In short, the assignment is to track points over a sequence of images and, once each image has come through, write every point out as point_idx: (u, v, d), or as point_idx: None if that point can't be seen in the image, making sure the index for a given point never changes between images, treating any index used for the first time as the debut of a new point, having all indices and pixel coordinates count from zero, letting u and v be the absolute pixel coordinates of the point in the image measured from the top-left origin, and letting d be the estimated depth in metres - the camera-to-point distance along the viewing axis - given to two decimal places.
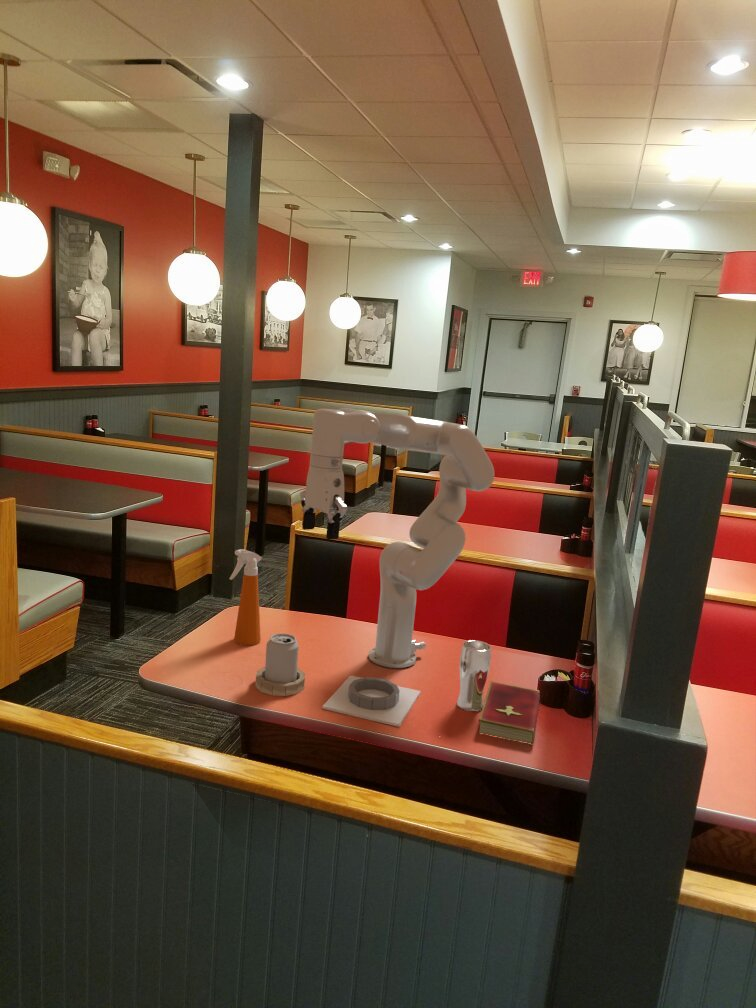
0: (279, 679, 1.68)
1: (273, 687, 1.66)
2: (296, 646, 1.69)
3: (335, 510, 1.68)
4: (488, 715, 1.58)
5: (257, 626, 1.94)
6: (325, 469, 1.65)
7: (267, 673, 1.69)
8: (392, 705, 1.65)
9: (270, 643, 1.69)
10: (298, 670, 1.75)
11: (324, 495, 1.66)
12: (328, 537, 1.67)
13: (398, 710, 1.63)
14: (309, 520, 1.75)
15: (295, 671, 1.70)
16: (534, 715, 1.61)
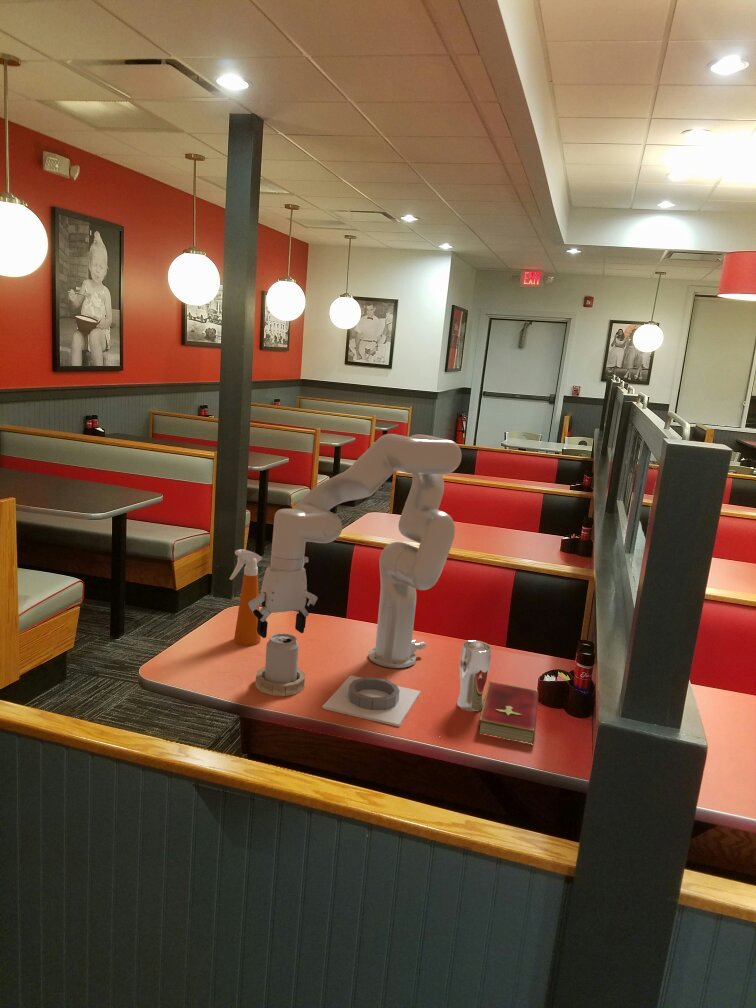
0: (279, 679, 1.68)
1: (273, 687, 1.66)
2: (296, 646, 1.69)
3: None
4: (488, 716, 1.58)
5: None
6: (302, 569, 1.66)
7: (267, 673, 1.69)
8: (392, 705, 1.65)
9: (270, 643, 1.69)
10: (298, 670, 1.75)
11: (302, 594, 1.68)
12: None
13: (398, 710, 1.63)
14: None
15: (295, 671, 1.70)
16: (534, 715, 1.61)
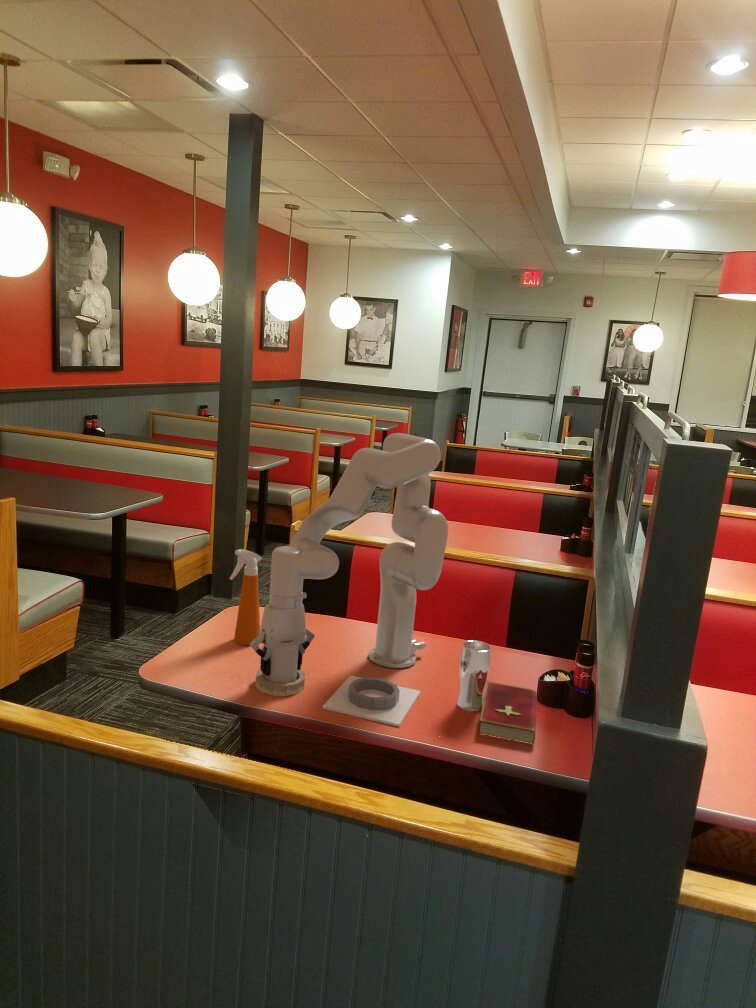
0: (279, 679, 1.68)
1: (273, 687, 1.66)
2: (296, 646, 1.69)
3: None
4: (488, 716, 1.58)
5: (257, 626, 1.94)
6: (301, 605, 1.68)
7: None
8: (392, 705, 1.65)
9: None
10: (298, 670, 1.75)
11: (301, 629, 1.70)
12: None
13: (398, 710, 1.63)
14: None
15: (295, 671, 1.70)
16: (533, 714, 1.61)
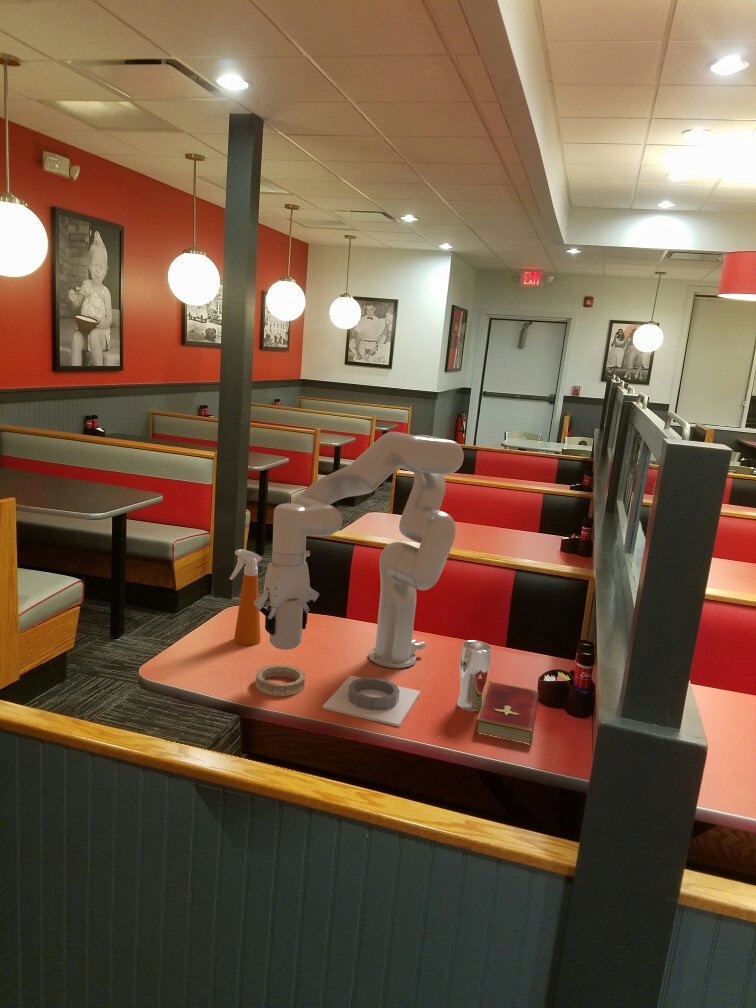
0: (284, 637, 1.67)
1: (273, 687, 1.66)
2: (301, 604, 1.68)
3: None
4: (486, 715, 1.59)
5: (257, 626, 1.94)
6: (304, 563, 1.66)
7: None
8: (392, 705, 1.65)
9: None
10: (298, 670, 1.75)
11: (305, 588, 1.68)
12: None
13: (398, 710, 1.63)
14: None
15: (300, 629, 1.69)
16: (532, 715, 1.61)
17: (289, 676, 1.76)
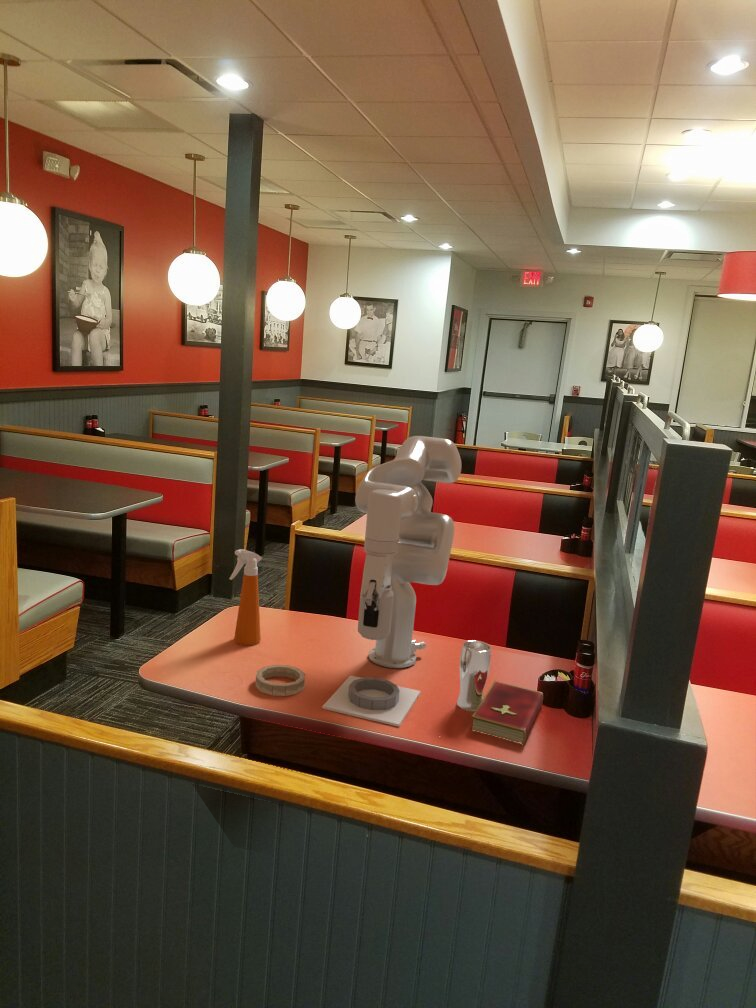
0: (386, 626, 1.62)
1: (273, 687, 1.66)
2: None
3: None
4: (482, 713, 1.59)
5: (257, 626, 1.94)
6: None
7: None
8: (392, 705, 1.65)
9: None
10: (298, 670, 1.75)
11: (391, 573, 1.66)
12: None
13: (398, 710, 1.63)
14: None
15: None
16: (530, 716, 1.60)
17: (289, 676, 1.76)
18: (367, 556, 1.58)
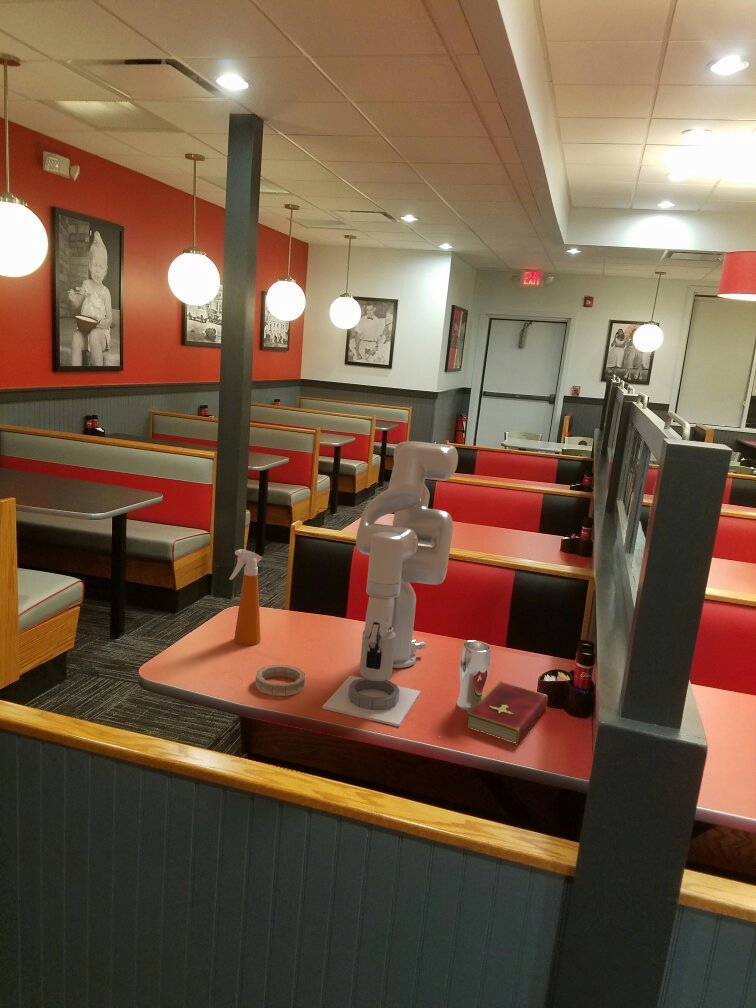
0: (388, 668, 1.64)
1: (273, 687, 1.66)
2: None
3: None
4: (478, 711, 1.60)
5: (257, 626, 1.94)
6: None
7: None
8: (392, 705, 1.65)
9: None
10: (298, 670, 1.75)
11: None
12: None
13: (398, 710, 1.63)
14: None
15: None
16: (527, 716, 1.60)
17: (289, 676, 1.76)
18: (370, 599, 1.60)
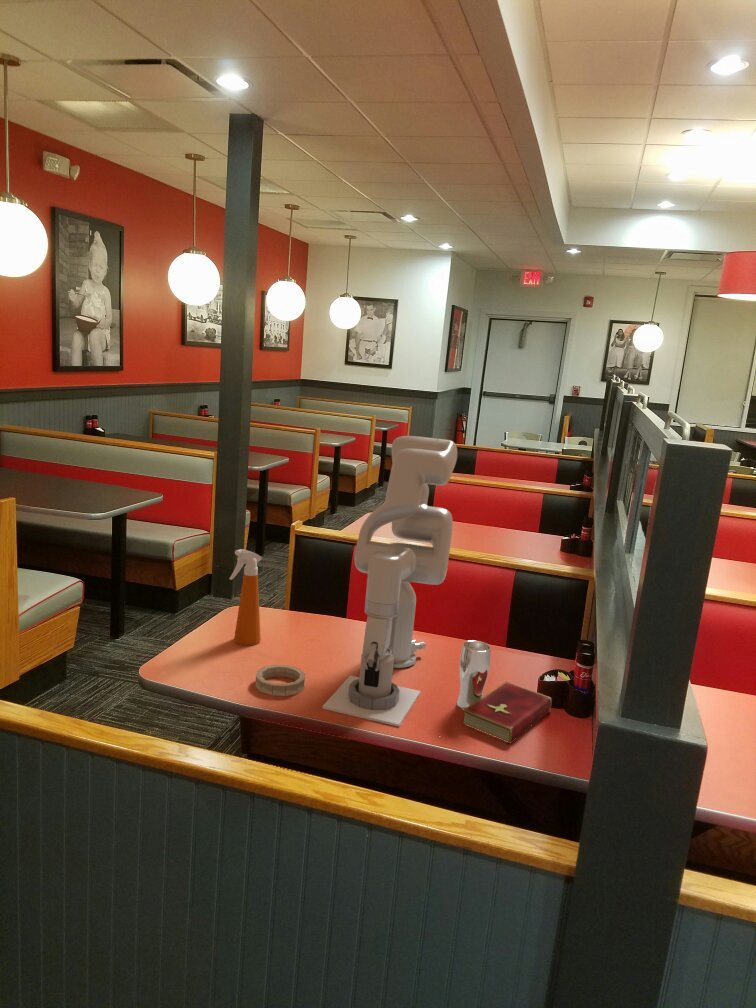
0: (387, 690, 1.66)
1: (273, 687, 1.66)
2: None
3: None
4: (475, 708, 1.61)
5: (257, 626, 1.94)
6: None
7: (373, 690, 1.64)
8: (392, 705, 1.65)
9: None
10: (298, 670, 1.75)
11: None
12: None
13: (398, 710, 1.63)
14: None
15: None
16: (524, 716, 1.60)
17: (289, 676, 1.76)
18: (368, 618, 1.61)
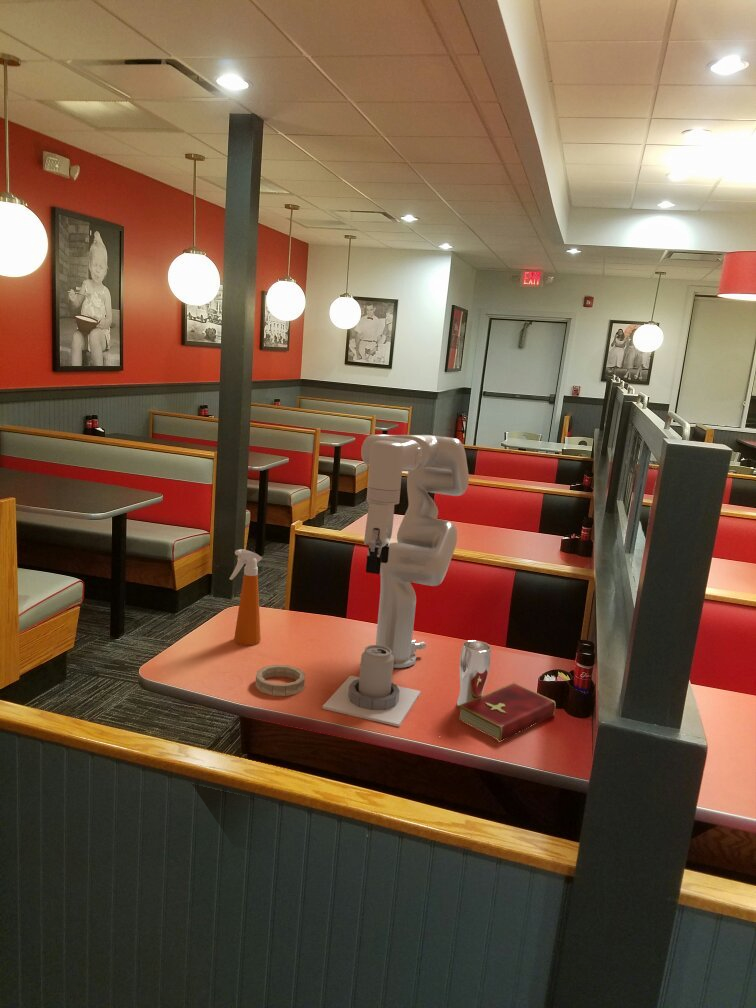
0: (387, 690, 1.66)
1: (273, 687, 1.66)
2: None
3: None
4: (471, 705, 1.63)
5: (257, 626, 1.94)
6: None
7: (373, 690, 1.64)
8: (392, 705, 1.65)
9: (374, 658, 1.63)
10: (298, 670, 1.75)
11: None
12: None
13: (398, 710, 1.63)
14: None
15: None
16: (519, 717, 1.59)
17: (289, 676, 1.76)
18: (370, 505, 1.62)
